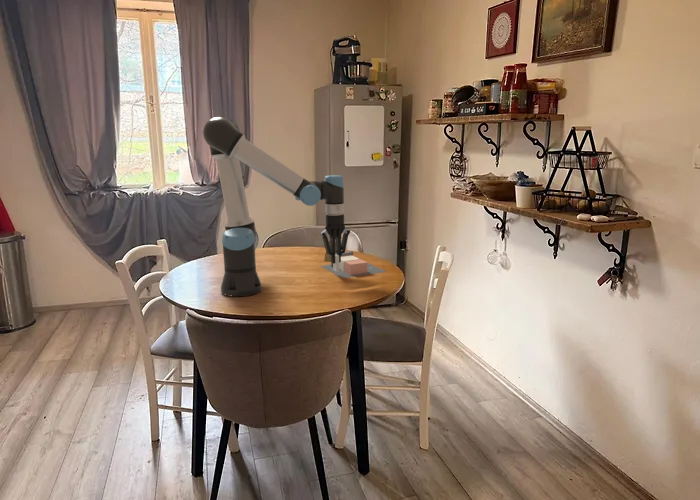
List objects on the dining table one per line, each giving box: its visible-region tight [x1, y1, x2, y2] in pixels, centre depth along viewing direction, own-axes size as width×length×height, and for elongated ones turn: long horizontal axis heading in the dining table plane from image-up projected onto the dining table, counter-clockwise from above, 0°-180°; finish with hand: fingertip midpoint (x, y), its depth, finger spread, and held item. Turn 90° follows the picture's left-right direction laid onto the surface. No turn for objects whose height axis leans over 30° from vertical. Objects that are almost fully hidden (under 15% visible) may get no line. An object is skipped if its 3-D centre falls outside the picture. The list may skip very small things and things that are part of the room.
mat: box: [320, 262, 387, 279], centre depth 218 cm, size 21×22×1 cm
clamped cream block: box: [330, 250, 361, 271], centre depth 220 cm, size 11×12×6 cm
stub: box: [345, 259, 368, 275], centre depth 211 cm, size 8×6×4 cm
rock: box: [324, 240, 336, 262], centre depth 233 cm, size 11×9×10 cm
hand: (336, 270), depth 207 cm, fingers closed
